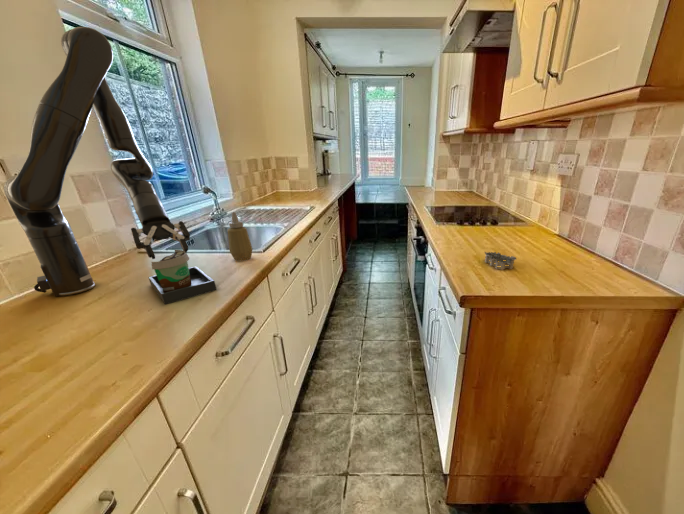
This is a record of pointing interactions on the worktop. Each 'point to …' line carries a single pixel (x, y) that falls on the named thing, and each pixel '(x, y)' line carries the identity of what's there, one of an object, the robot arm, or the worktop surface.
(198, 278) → the tray
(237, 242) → the squeeze bottle
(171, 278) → the food container
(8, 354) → the worktop surface
